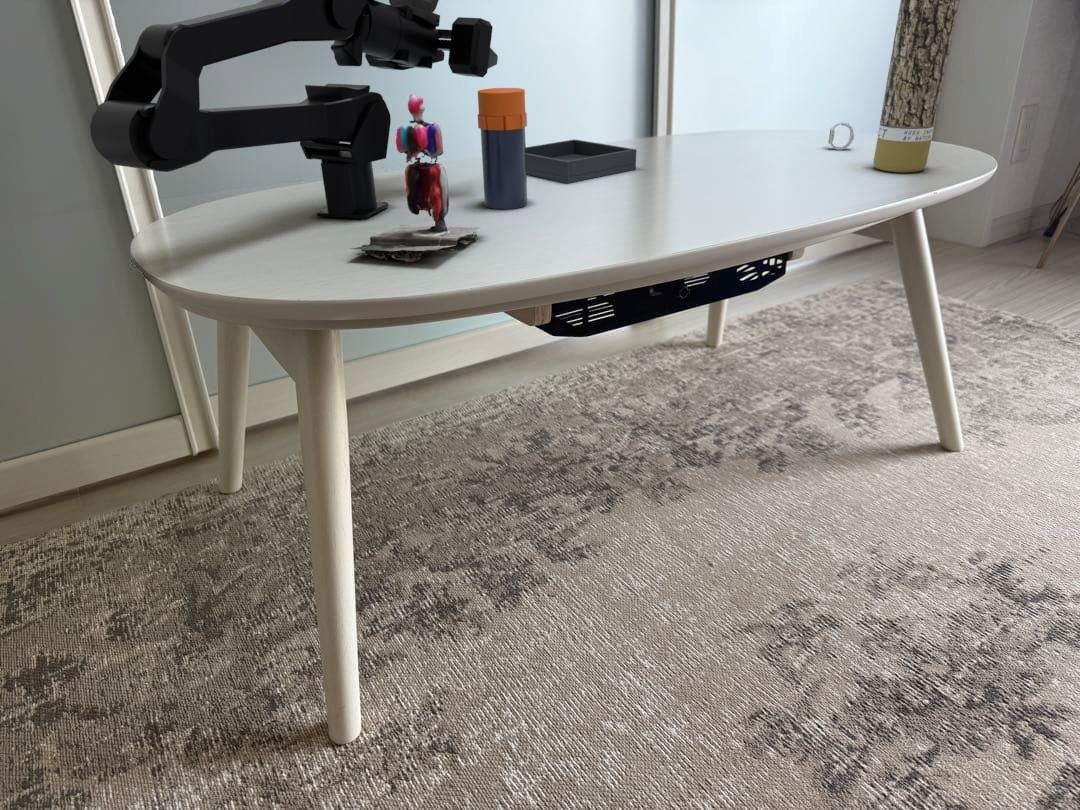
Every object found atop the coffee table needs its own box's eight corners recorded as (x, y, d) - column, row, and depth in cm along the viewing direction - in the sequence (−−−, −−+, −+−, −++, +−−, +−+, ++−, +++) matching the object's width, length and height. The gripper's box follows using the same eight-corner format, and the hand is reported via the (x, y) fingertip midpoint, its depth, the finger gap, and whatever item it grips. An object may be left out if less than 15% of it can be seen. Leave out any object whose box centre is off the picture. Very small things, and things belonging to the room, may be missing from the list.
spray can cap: (518, 130, 88) (516, 92, 86) (473, 130, 90) (470, 92, 88) (531, 123, 93) (530, 87, 91) (488, 123, 94) (486, 87, 92)
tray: (567, 183, 105) (567, 162, 104) (507, 170, 114) (506, 150, 113) (636, 169, 112) (636, 149, 111) (574, 157, 122) (574, 139, 120)
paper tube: (929, 166, 109) (970, -39, 98) (920, 175, 104) (963, -40, 92) (878, 162, 112) (912, -37, 101) (867, 171, 107) (902, -38, 96)
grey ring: (852, 148, 123) (855, 121, 121) (852, 150, 121) (855, 123, 119) (827, 148, 124) (831, 121, 122) (827, 150, 122) (830, 123, 121)
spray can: (520, 210, 92) (517, 116, 88) (478, 208, 94) (473, 116, 89) (532, 200, 97) (529, 110, 92) (492, 198, 98) (488, 110, 93)
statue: (402, 243, 85) (392, 96, 80) (481, 247, 83) (477, 95, 77) (349, 260, 76) (334, 93, 70) (437, 265, 73) (428, 92, 68)
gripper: (451, -47, 84) (535, -8, 96) (334, -45, 93) (423, -10, 106) (440, 64, 87) (522, 88, 100) (328, 55, 96) (415, 78, 109)
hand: (469, 58), depth 103 cm, fingers open, 9 cm apart
